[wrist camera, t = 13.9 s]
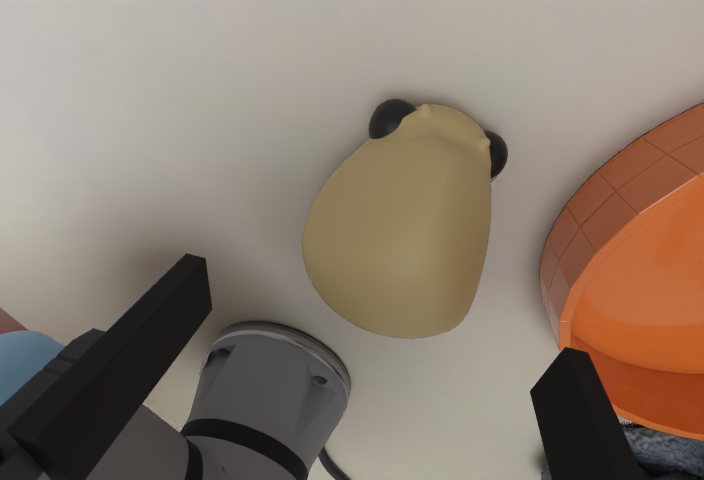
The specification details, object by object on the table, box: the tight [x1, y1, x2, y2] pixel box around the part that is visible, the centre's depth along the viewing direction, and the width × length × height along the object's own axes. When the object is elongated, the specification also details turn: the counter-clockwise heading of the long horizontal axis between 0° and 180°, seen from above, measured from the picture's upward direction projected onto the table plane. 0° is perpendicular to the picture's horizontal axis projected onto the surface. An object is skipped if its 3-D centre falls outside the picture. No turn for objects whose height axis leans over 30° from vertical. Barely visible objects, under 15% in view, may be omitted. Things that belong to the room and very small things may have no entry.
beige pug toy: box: [302, 99, 508, 338], centre depth 18 cm, size 10×12×11 cm
